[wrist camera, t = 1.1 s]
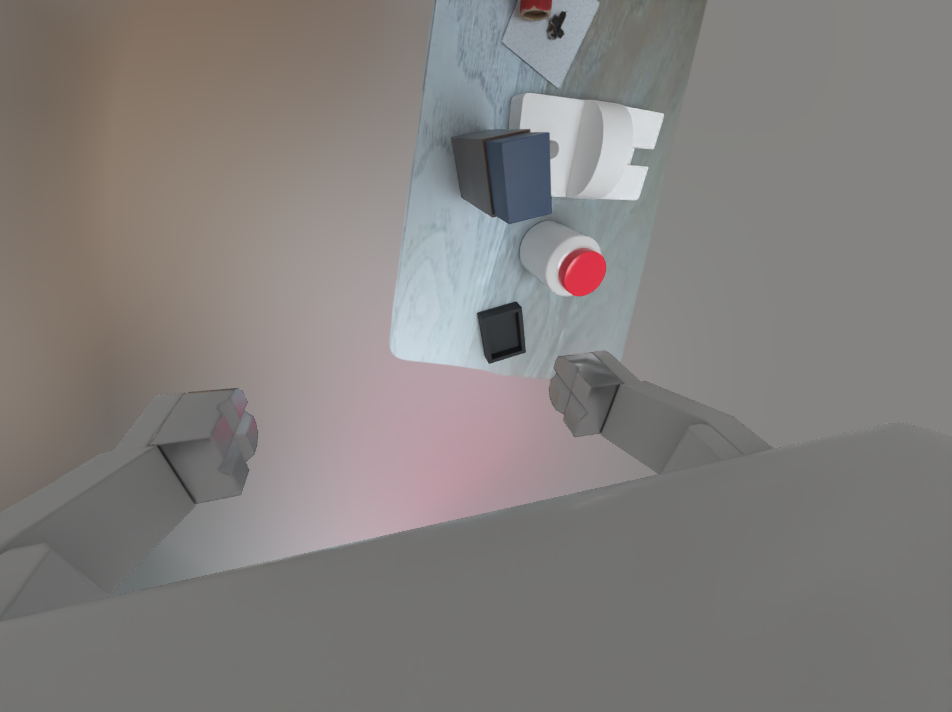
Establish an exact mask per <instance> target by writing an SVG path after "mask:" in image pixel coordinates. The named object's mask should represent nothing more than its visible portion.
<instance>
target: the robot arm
mask: <svg viewBox="0 0 952 712" xmlns="http://www.w3.org/2000/svg"><path fill="white" fill-rule="evenodd" d="M554 369H555V371H556V373H557V374H556V375H555V376H554V377H553V378H552V379H551V381H550V386H549V395H550V400H551V402H552V405H553V406H554V407H555V409H556V410H557V411H559V412H560V413H562V414H564V419H563V420H564V422H565V424H566V426H567V427H568V428H569V430H570V431H571V433H572V434H573V436H574V437H579V436H586V435H593V434H600V433H601V435H602V436H603V437H605V438H606V439H608V440H609V441H610V442H612V443H613V444H615V445H616V446H618V447H620V448H621V449H622V450H624V451H625V452H627V453H628V454H630V455H631V456H633V457H634V458H636V459H637V460H639V461H640V462H642V463H643V464H644V465H646V466H648V467H649V468H651V469H652V470H653V471H655V472H656V473H658V475H654V476H650V477H645V478H640V479H636V480H632V481H627V482H623V483H618V484H613V485H609V486H605V487H600V488H596V489H591V490H587V491H582V492H578V493H573V494H569V495H564V496H560V497H555V498H551V499H547V500H542V501H538V502H533V503H529V504H524V505H520V506H516V507H511V508H506V509H502V510H497V511H493V512H489V513H484V514H479V515H475V516H470V517H466V518H461V519H457V520H452V521H448V522H444V523H439V524H434V525H430V526H426V527H421V528H417V529H412V530H407V531H403V532H398V533H394V534H389V535H385V536H380V537H376V538H372V539H367V540H363V541H359V542H354V543H349V544H344V545H340V546H335V547H331V548H327V549H322V550H317V551H313V552H308V553H304V554H300V555H295V556H291V557H286V558H282V559H277V560H273V561H268V562H264V563H260V564H255V565H250V566H246V567H241V568H237V569H233V570H228V571H223V572H219V573H214V574H210V575H205V576H201V577H197V578H192V579H187V580H183V581H179V582H174V583H169V584H165V585H160V586H156V587H152V588H147V589H143V590H138V591H134V592H129V593H125V594H120V595H116V596H111V597H110V596H109V594H110V593H111V592H112V591H113V590H114V589H115V588H116V587H117V586H118V585H119V584H120V583H121V582H122V581H123V580H124V579H125V578H126V577H127V576H128V575H129V574H130V573H131V572H132V571H133V570H134V569H135V568H136V567H137V566H138V565H139V564H140V563H141V561H142V560H143V559H144V558H145V557H146V556H147V555H148V554H149V553H150V552H151V551H152V550H153V549H154V548H155V547H156V546H157V545H158V544H159V543H160V542H161V541H162V540H163V539H164V538H165V537H166V536H167V535H168V534H169V533H170V532H171V531H172V530H173V529H174V528H175V527H176V526H177V525H178V524H179V523H180V522H181V521H182V520H183V519H184V517H186V516H187V514H189V513H190V511H191V510H192V509H193V508H194V507H195V504H198V503H203V502H208V501H213V500H218V499H223V498H228V497H234V496H239V495H241V493H242V490H243V487H244V484H245V481H246V478H247V475H248V472H249V468H248V467H247V464H246V461H247V460H248V459H250V458H251V457H252V456H253V455H254V454H255V451H256V447H257V440H258V430H257V425H256V422H255V419H254V416H253V415H251V414H249V413H248V412H246V411H245V407H246V405H247V402H248V401H247V399H246V397H245V395H244V392H243V391H242V390H240V389H239V388H233V389H221V390H209V391H198V392H188V393H175V394H165V395H160V396H157V397H155V398H154V399H153V400H152V401H151V402H150V404H149V405H148V406H147V408H146V409H145V410H144V411H143V413H142V414H141V415H140V417H139V418H138V419H137V421H136V422H135V423H134V424H133V426H132V427H131V428H130V430H129V431H128V432H127V434H126V435H125V436H124V437H123V439H122V440H121V442H120V443H119V444H118V445H117V447H116V448H115V449H114V451H110V452H103V453H101V454H100V455H98V456H96V457H95V458H93V459H91V460H89V461H88V462H86V463H84V464H83V465H81V466H79V467H78V468H76V469H74V470H72V471H71V472H69V473H67V474H66V475H64V476H62V477H61V478H59V479H57V480H55V481H54V482H52V483H51V484H49V485H47V486H46V487H44V488H42V489H40V490H39V491H37V492H35V493H33V494H32V495H30V496H28V497H26V498H25V499H23V500H21V501H20V502H18V503H16V504H15V505H13V506H11V507H10V508H8V509H6V510H4V511H3V512H1V513H0V712H952V437H950V436H948V435H944V434H941V433H938V432H935V431H932V430H929V429H926V428H922V427H918V426H915V425H910V424H906V423H888V424H882V425H877V426H873V427H869V428H864V429H860V430H856V431H851V432H847V433H842V434H838V435H833V436H829V437H825V438H820V439H816V440H811V441H807V442H802V443H798V444H793V445H789V446H784V447H780V448H775V449H774V448H773V447H771V446H770V445H769V444H768V443H766V442H765V441H764V440H762V439H761V438H760V437H758V436H757V435H756V434H755V433H754V432H752V431H751V430H750V429H749V428H747V427H746V426H745V425H744V424H742V423H741V422H739V421H738V420H737V419H736V418H735V417H733V416H731V415H728V414H725V413H723V412H721V411H718V410H716V409H713V408H711V407H708V406H706V405H703V404H701V403H699V402H696V401H694V400H691V399H688V398H686V397H684V396H681V395H679V394H676V393H674V392H671V391H669V390H666V389H664V388H661V387H659V386H657V385H654V384H652V383H649V382H647V381H640V380H639V379H637V378H636V377H635V376H634V375H633V374H632V373H631V372H630V371H629V370H628V369H627V368H625V367H624V366H623V365H622V364H621V363H620V362H619V361H618V360H617V359H616V358H615V357H613V356H612V355H611V354H610V353H609V352H607V351H596V352H589V353H584V354H575V355H566V356H558V358H557V359H556V361H555V364H554Z"/></svg>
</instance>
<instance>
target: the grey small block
mask: <svg viewBox="0 0 952 712" xmlns="http://www.w3.org/2000/svg"><path fill="white" fill-rule="evenodd" d="M599 5H600V3H599V2H598V1H597V0H552V8H551V15H550V17H549V18H547V19H544V20H539V21H531V20H526V19H523V18H522V17H521V16H520V13H519V12H520V0H518V1H517V4H516V6H515V9H514V11H513V14H512V16H511V19H510V21H509V24H508V26H507V29H506V31H505V34H504V36H503V39H502V41H501V42H502V43H503V44H505V45H506V46H507V47H508V48H510V49H511V50H512V51H513V52H514V53H516V54H517V55H518V56H519V57H520V58H522V59H523V60H524V61H525V62H527V63H528V64H529V65H530V66H531V67H533V68H534V69H535V70H536V71H537V72H539V73H540V74H541V75H542V76H544V77H545V78H546V79H547V80H548V81H550V82H551V83H552V84H553V85H554V86H556V87H557V88H558V89H559V88H560V86H561V84H562V82H563V80H564V78H565V76H566V74H567V72H568V70H569V67H570V65H571V63H572V61H573V59H574V57H575V55H576V53H577V51H578V49H579V47H580V45H581V42H582V40H583V38H584V36H585V34H586V32H587V30H588V28H589V26H590V24H591V22H592V20H593V17H594V15H595V13H596V11H597V9H598V7H599Z"/></svg>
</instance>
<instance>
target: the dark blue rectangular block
mask: <svg viewBox="0 0 952 712" xmlns="http://www.w3.org/2000/svg"><path fill="white" fill-rule="evenodd" d="M485 144H486V152H487V160H488V168H489V177H490V185H491V193H492V201H493V209H494V215H495V216H497V217H498V218H500V219H502V220H503V221H505V222H507V223H508V224H512V223H516V222H520V221H524V220H528V219H531V218H535V217H539V216H543V215H547V214H551V213H552V208H551V170H550V133H549V132H527V133H522V134H518V135H513V136H508V137H504V138H499V139H494V140H490V141H486V142H485Z"/></svg>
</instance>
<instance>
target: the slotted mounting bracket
mask: <svg viewBox="0 0 952 712" xmlns="http://www.w3.org/2000/svg"><path fill="white" fill-rule="evenodd" d="M663 118H664V114H663V113H657V112H652V111H647V110H642V109H636V108H631V107H626V106H623V105H621V104H617V103H610V102H603V101H597V100H579V99H571V98H564V97H557V96H550V95H542V94H535V93H525V94H520V95H516V96H514V97H513V98H512V100H511V106H510V116H509V125H508V129H530V131H531V132H549V133H550V170H551V196H556V197H569V198H580V199H617V200H637V199H638V198H639V196H640V193H641V190H642V187H643V183H644V180H645V177H646V173H647V170H648V167H645V166H636V165H630V163H631V160H632V156H633V153H634V149H635V148H642V149H654V147H655V144H656V141H657V137H658V134H659V131H660V127H661V124H662V121H663Z"/></svg>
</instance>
